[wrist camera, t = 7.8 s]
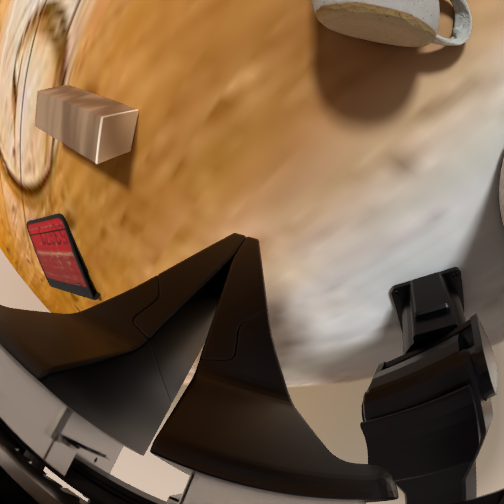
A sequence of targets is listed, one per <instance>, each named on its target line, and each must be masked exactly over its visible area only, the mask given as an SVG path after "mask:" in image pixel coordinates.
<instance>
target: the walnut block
mask: <svg viewBox="0 0 504 504" xmlns="http://www.w3.org/2000/svg"><path fill="white" fill-rule="evenodd" d="M138 113H139V110H137V109H135V108H132V107H130V106H127V105H125V104H122V103H119V102H117V101H114V100H111V99H108V98H106V97H103V96H100V95H97V94H94V93H91V92H88V91H85V90H82V89H79V88H76V87H73V86H70V85H64V86H59V87H54V88H49V89H45V90H40V91H38V94H37V104H36V117H35V126H36V127H38V128H39V129H41V130H42V131H44V132H46V133H47V134H49V135H51V136H52V137H54V138H55V139H57V140H59V141H60V142H62V143H64V144H65V145H67V146H68V147H70V148H72V149H73V150H75V151H76V152H78V153H80V154H81V155H83V156H85V157H86V158H88V159H90V160H91V161H93V162H94V163H96V164H99V163H102V162H104V161H107V160H109V159H112V158H114V157H117V156H120V155H122V154H125V153H128V152H130V151H131V146H132V141H133V136H134V131H135V126H136V122H137V117H138Z"/></svg>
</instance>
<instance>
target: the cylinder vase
mask: <svg viewBox="0 0 504 504" xmlns="http://www.w3.org/2000/svg"><path fill="white" fill-rule="evenodd" d="M499 203H500V212H501V217H502V222H503V226H504V159H503V163H502V168H501V174H500V184H499Z"/></svg>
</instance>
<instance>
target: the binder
mask: <svg viewBox="0 0 504 504" xmlns="http://www.w3.org/2000/svg"><path fill="white" fill-rule="evenodd" d="M27 229H28V232H29V235H30V238H31V240H32V243H33V246H34V249H35V252H36V254H37V257H38V260H39V262H40V264H41V267H42V269H43V271H44V274H45V276H46V279H47V280H48V282H49V284H50V286H51V287H54V288H58V289H61V290H64V291H67V292H70V293H73V294H77V295H80V296H83V297H87V298H90V299H92V300H96V299H97V298H98V297H99V296H100V293H97V292H95V291H93V290H92V289H91V287H90V285H89V283H88V282H89V278H88V276H87V275H86V273H85V271H84V270H83V265H84V267H85V269H86V271H87V272H88V270H87V267H86V265H85V263H84V261H83V259H82V256H81V254H80V252H79V250H78V247H77V245H76V243H75V240H74V238H73V236H72V233H71V231H70V229H69V226H68V224H67V221H66V219H65V218H64V216H63V215H62V214H55V215H52V216H48V217H44V218H40V219H36V220H30V221H28V222H27ZM82 263H83V264H82ZM88 273H89V272H88Z"/></svg>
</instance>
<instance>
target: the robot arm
mask: <svg viewBox="0 0 504 504" xmlns="http://www.w3.org/2000/svg"><path fill="white" fill-rule="evenodd" d="M455 272H457V274H455V275H453V274H454V273H455ZM396 290H399V291H398V292H395V291H396ZM392 296H393V300H394V303H395V307H396V310H397V314H398V317H399V321H400V325H401V328H402V332H403V355H402V356H400V357H398V358H396V359H393V360H391V361H389V362H387V363H386V362H384V363H381V364H379V366H378V368H377V371H376V373H375V375H374V377H373V379H372V382H371V384H370V386H369V388H368V390H367V392H365V395H364V399H363V404H362V419H363V422H361V424H360V426H361V429H362V431H363V434H364V436H365V439H366V443H367V449H368V464H355V463H349V462H345V461H343V460H341V459H339V458H337V457H336V456H334V455H333V454H332V453H331V452H329V450H328V449H327V448H326V447H325V445H324V444H323V443H322V442H321V440H320V439H319V438H318V437H317V436H316V435H315V433H314V432H313V430H312V429H311V428H310V427H309V425H308V424H307V423H306V421H305V420H304V419H303V417H302V416H301V415H300V413H299V412H298V411H297V409H296V408H295V406H294V404H293V402H292V401H291V398H290V395H289V393H288V390H287V387H286V384H285V380H284V377H283V374H282V370H281V367H280V364H279V360H278V357H277V354H276V350H275V346H274V342H273V338H272V333H271V328H270V322H269V314H268V307H267V299H266V291H265V283H264V276H263V268H262V260H261V253H260V245H259V240H258V239H255V238H251V237H246V236H244V235H241V234H237V233H233V234H231V235H229V236H228V237H226V238H224V239H222V240H220V241H218V242H216V243H215V244H213V245H211V246H209V247H207V248H205V249H204V250H202V251H200V252H198V253H196V254H194V255H193V256H191V257H189V258H187V259H185V260H184V261H182V262H180V263H178V264H176V265H175V266H173V267H171V268H169V269H167V270H166V271H164V272H162V273H160V274H159V275H158V276H155V277H153V278H151V279H149V280H148V281H146V282H144V283H142V284H140V285H138V286H136V287H135V288H132V289H130V290H128V291H126V292H124V293H122V294H120V295H118V296H115V297H113V298H111V299H109V300H106V301H104V302H102V303H100V304H97V305H95V306H93V307H91V308H89V309H86V310H84V311H81V312H78V313H73V314H59V313H48V312H39V311H29V310H21V309H13V308H9V307H5V306H2V305H0V504H366V502H378V501H388V500H395V499H398V490H397V487H398V488H399V489H400V490H401V491H402V492H403V493H404V495H405V501H406V504H504V489H501V490H498V491H495V492H492V493H489V494H486V495H483V496H480V497H476V458H477V456H478V454H479V451H480V449H481V447H482V444H483V442H484V439H485V437H486V434H487V432H488V429H489V426H490V423H491V420H492V417H493V412H492V405H491V397H493V396H495V395H497V381H498V370H497V366H496V362H495V358H494V355H493V351H492V347H491V345H490V342H489V340H488V338H487V335H486V333H485V331H484V329H483V327H482V324H481V322H480V320H479V318H478V316H477V314H475V315H474V316H472V317H471V318H470V320H468V321H467V322H466V319H465V315H464V300H463V288H462V279H461V272H460V270H459V268H458V267H453V268H450V269H447V270H444V271H441V272H437V273H434V274H431V275H427V276H424V277H421V278H418V279H414V280H412V281H408V282H405V283H401V284H398V285H395V286H393V287H392ZM204 343H205V344H204ZM203 345H204V347H203V350H202V354H201V357H200V361H199V363H198V366H197V369H196V372H195V374H194V376H193V379H192V380H191V382H190V384H189V385H188V387H187V388H186V390H185V392H184V393H183V395H182V397H181V398H180V400H179V401H178V403H177V405H176V407H175V408H174V410H173V411H172V413H171V415H170V416H169V418H168V419H167V421H166V423H165V424H164V426H163V428H162V429H161V430H160V432H159V434H158V435H157V437H156V439H155V440H154V442H153V445H152V447H151V450H150V452H151V453H152V454H154V455H155V456H157V457H159V458H160V459H162V460H163V461H165V462H167V463H168V464H170V465H172V466H174V467H175V468H177V469H179V470H181V471H182V472H184V473H186V474H188V475H190V477H189V480H188V482H187V485H186V487H185V489H184V492H183V494H177V495H172V496H170V497H169V498H168V501H167V502H166V501H163V500H160V499H158V498H156V497H154V496H151V495H149V494H147V493H145V492H143V491H141V490H139V489H137V488H135V487H133V486H131V485H129V484H127V483H125V482H123V481H121V480H120V479H118V478H116V477H114V476H112V475H111V474H110V472H111V470H112V468H113V466H114V464H115V462H116V460H117V458H118V456H119V454H120V452H121V450H122V448H123V446H125V447H127V448H129V449H131V450H133V451H135V452H136V453H138V454H140V455H144V454H145V452H146V451H147V449H148V447H149V445H150V443H151V441H152V439H153V437H154V436H155V434H156V432H157V430H158V428H159V426H160V425H161V423H162V421H163V419H164V417H165V415H166V413H167V412H168V410H169V408H170V406H171V403H172V402H173V400H174V398H175V396H176V395H177V393H178V391H179V389H180V387H181V385H182V384H183V382H184V380H185V378H186V376H187V374H188V372H189V371H190V369H191V367H192V365H193V363H194V361H195V359H196V358H197V356H198V354H199V352H200V350H201V348H202V346H203ZM45 466H46V467H47V468H48V469H49V470H51V471H52V472H53V473H54V474H56V475H57V476H58V477H59V478H61V479H62V480H63V481H65V482H66V483H67V484H69V485H70V486H72V487H73V488H74V489H76V490H77V491H79V492H80V493H82V494H83V496H84V497H86V498H89V500H88V502H86V501H85V500H83V499H82V498H80V497H79V496H77V495H76V494H75V493H73V492H71V491H70V490H69V489H68V488H62V486H61V485H60V484H59V483H57V482H56V481H54V480H53V479H51V478H50V477H48V476H46V473H45V472H44V471H43V470H44V467H45ZM396 486H397V487H396Z"/></svg>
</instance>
